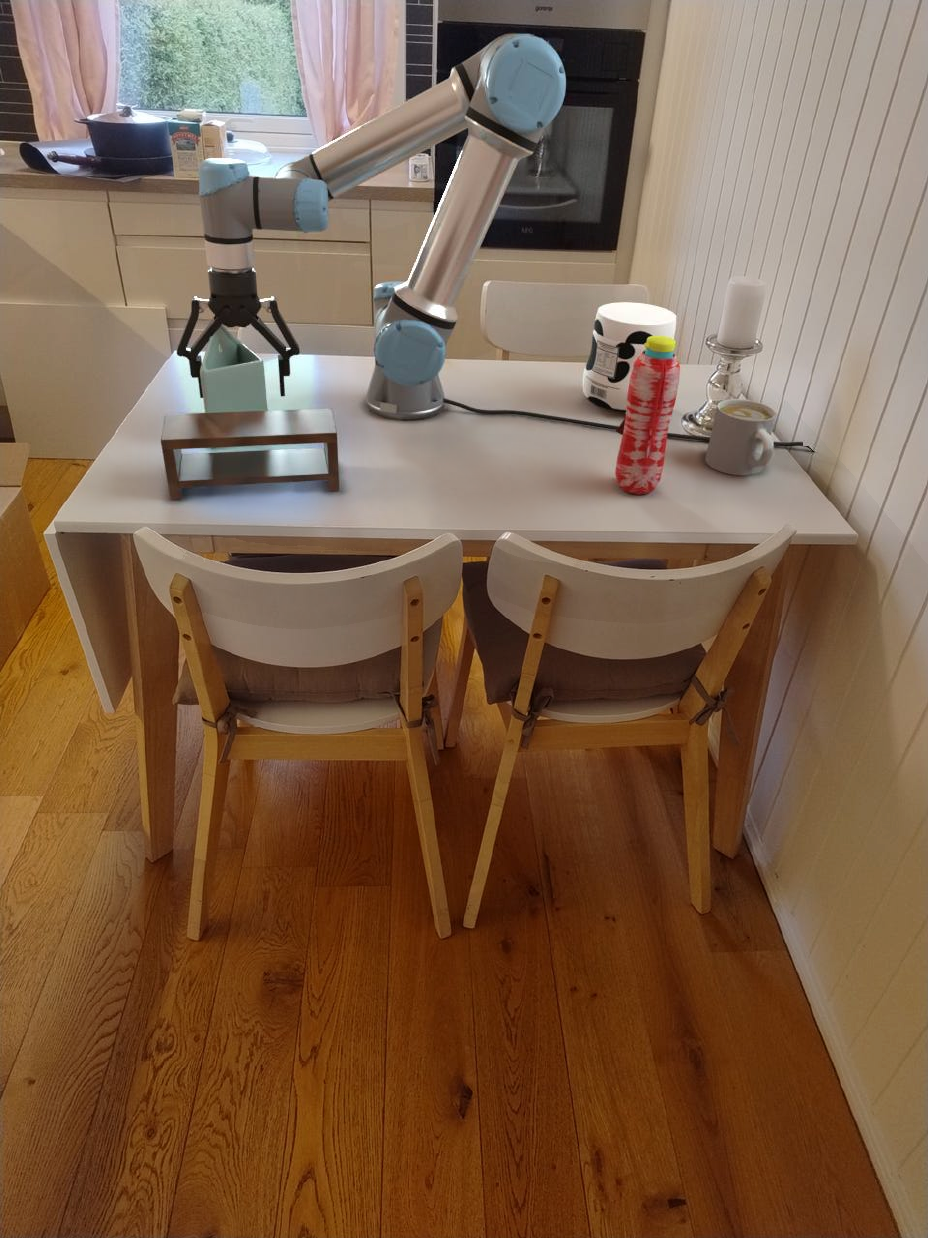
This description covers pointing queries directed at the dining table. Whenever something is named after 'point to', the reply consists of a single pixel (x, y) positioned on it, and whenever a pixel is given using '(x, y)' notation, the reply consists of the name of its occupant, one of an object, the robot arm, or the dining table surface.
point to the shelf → (249, 464)
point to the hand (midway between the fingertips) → (243, 394)
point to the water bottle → (647, 416)
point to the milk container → (621, 349)
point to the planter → (232, 376)
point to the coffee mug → (741, 437)
